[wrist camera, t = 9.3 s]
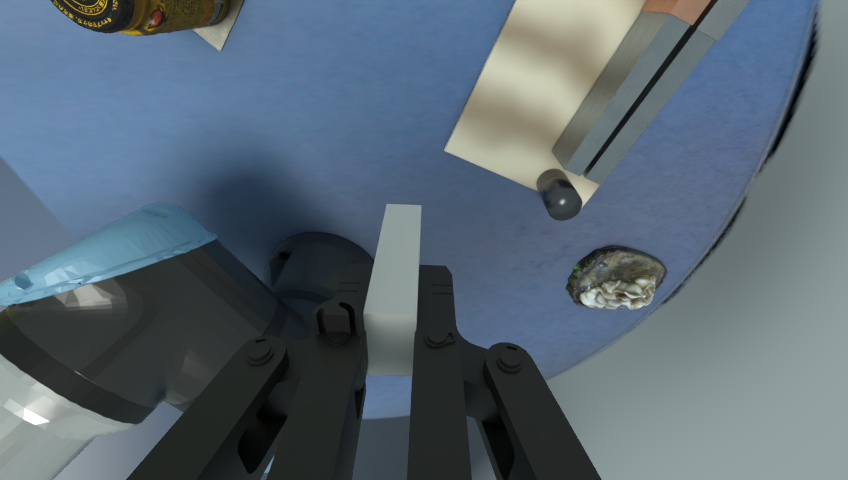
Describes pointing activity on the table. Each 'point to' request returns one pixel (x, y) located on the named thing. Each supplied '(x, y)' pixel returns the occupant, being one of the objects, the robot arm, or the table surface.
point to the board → (539, 85)
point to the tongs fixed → (642, 108)
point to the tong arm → (625, 79)
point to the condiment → (155, 16)
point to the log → (615, 279)
